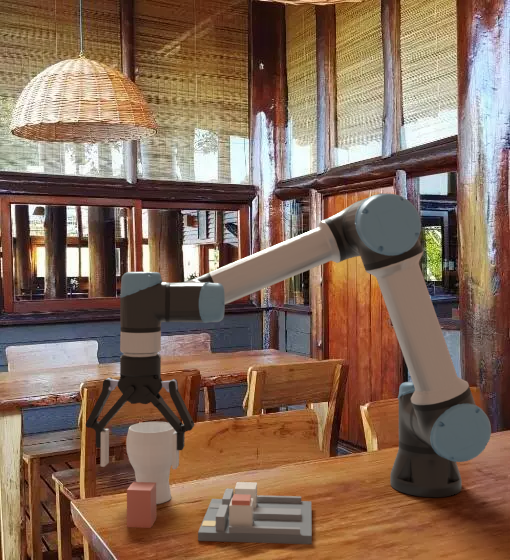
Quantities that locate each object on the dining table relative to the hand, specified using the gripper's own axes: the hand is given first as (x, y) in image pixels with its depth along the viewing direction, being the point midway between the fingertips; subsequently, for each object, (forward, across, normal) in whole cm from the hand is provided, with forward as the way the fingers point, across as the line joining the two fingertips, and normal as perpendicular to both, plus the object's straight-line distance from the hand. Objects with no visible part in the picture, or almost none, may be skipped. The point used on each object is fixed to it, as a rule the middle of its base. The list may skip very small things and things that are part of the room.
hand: (139, 466), depth 128 cm
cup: (+11, +1, -13) cm, 17 cm away
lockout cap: (+11, 0, 0) cm, 11 cm away
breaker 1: (+9, -20, -6) cm, 22 cm away
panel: (+10, -21, -1) cm, 24 cm away
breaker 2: (+9, -20, +3) cm, 22 cm away
